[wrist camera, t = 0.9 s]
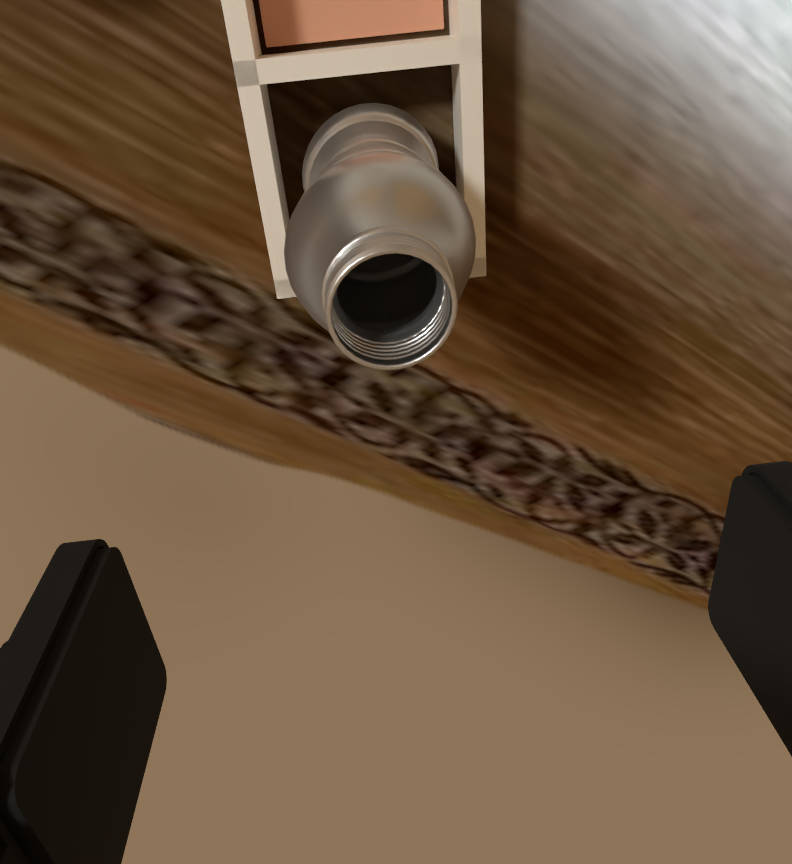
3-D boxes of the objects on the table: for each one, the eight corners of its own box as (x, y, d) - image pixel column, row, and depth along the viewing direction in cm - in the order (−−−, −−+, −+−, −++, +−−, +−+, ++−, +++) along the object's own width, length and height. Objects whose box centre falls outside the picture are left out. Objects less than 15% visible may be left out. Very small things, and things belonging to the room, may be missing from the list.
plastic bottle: (454, 186, 37) (550, 344, 20) (346, 251, 38) (350, 449, 21) (393, 68, 34) (446, 135, 17) (278, 144, 35) (220, 276, 18)
